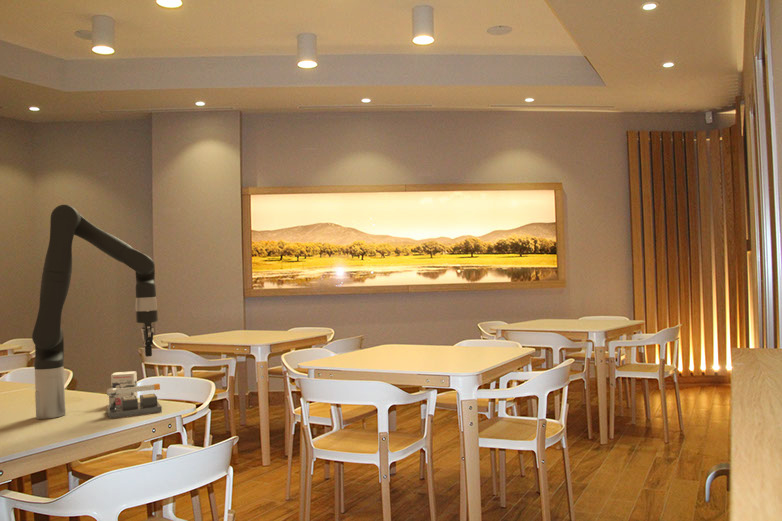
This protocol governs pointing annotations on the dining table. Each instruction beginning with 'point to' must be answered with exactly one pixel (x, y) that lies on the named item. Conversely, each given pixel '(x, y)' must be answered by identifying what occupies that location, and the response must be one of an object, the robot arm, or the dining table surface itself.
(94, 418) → the dining table surface
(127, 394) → the ink box
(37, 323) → the robot arm
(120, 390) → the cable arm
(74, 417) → the dining table surface
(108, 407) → the dark boxy piece
